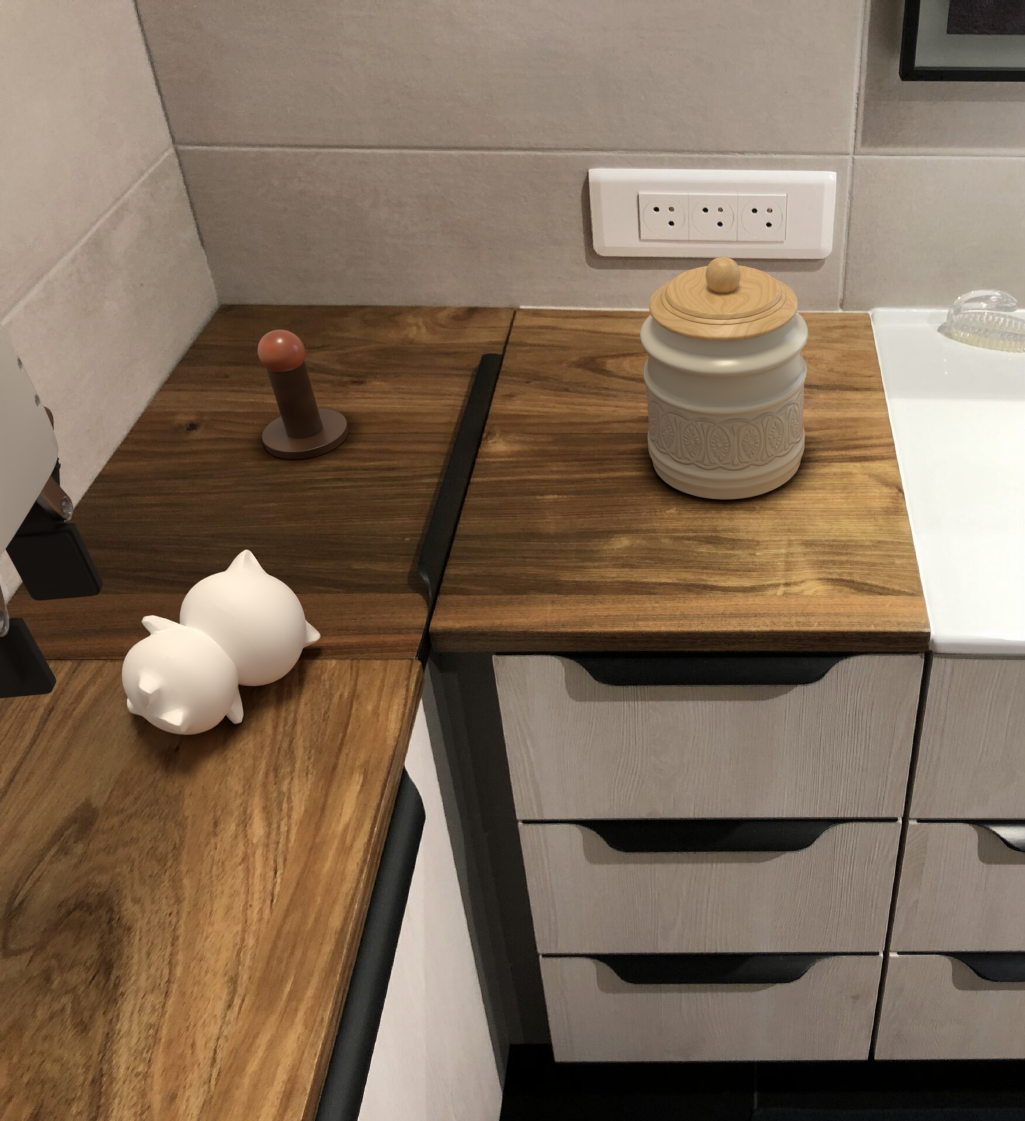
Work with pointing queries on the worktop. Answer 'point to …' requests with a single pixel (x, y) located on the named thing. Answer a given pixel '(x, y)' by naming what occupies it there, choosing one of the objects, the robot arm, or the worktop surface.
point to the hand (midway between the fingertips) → (44, 638)
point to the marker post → (296, 403)
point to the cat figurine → (216, 649)
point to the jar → (725, 381)
